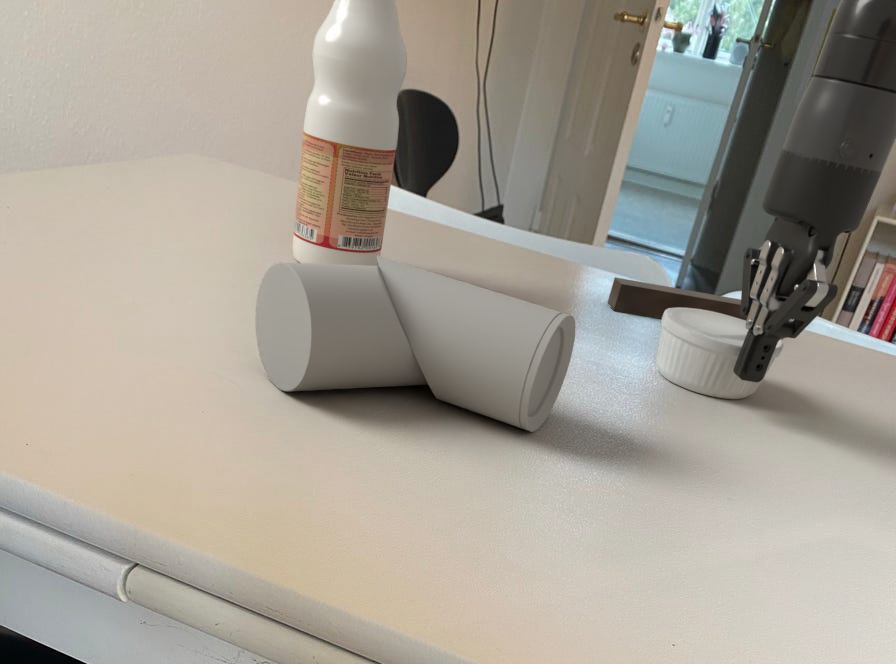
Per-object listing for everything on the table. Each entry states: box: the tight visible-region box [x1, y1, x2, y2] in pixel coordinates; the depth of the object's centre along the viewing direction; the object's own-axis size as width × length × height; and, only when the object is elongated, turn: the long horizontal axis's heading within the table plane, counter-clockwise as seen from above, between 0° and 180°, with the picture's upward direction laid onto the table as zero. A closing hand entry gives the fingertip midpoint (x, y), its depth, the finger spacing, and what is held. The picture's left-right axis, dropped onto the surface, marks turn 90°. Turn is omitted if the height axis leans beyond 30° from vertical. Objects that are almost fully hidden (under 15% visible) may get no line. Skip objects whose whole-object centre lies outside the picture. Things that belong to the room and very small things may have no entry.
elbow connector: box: [254, 255, 576, 433], centre depth 65 cm, size 18×11×20 cm
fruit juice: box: [292, 0, 408, 266], centre depth 90 cm, size 9×9×28 cm
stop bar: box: [606, 277, 747, 321], centre depth 105 cm, size 16×3×3 cm, turn 94°
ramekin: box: [655, 307, 784, 400], centre depth 84 cm, size 11×11×5 cm
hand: (746, 378), depth 78 cm, fingers closed
